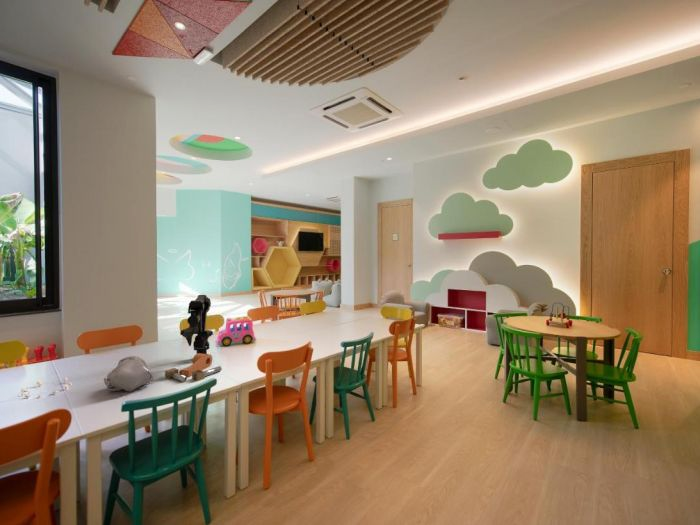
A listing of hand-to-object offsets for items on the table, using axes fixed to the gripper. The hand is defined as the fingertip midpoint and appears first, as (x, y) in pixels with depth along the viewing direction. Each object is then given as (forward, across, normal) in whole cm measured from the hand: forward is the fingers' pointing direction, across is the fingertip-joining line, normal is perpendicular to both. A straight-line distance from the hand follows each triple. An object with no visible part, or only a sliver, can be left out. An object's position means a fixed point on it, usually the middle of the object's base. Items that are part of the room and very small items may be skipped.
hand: (196, 346), depth 198 cm
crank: (+13, +3, -5) cm, 14 cm away
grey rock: (+12, -12, -36) cm, 40 cm away
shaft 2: (+12, +15, -10) cm, 22 cm away
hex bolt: (+12, +2, -19) cm, 23 cm away
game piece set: (+13, -50, -47) cm, 70 cm away
